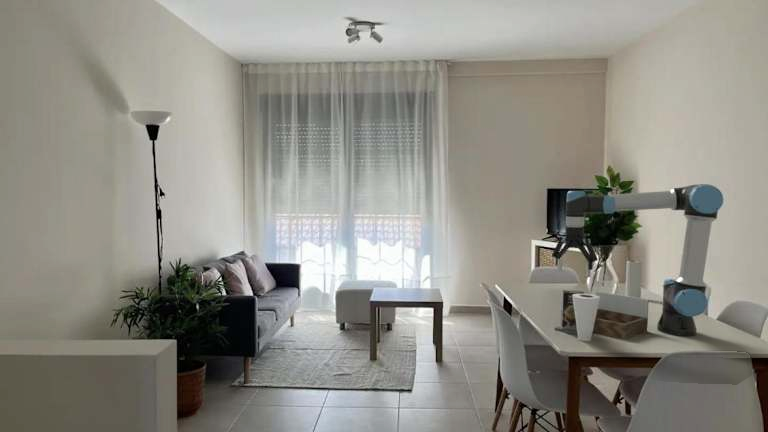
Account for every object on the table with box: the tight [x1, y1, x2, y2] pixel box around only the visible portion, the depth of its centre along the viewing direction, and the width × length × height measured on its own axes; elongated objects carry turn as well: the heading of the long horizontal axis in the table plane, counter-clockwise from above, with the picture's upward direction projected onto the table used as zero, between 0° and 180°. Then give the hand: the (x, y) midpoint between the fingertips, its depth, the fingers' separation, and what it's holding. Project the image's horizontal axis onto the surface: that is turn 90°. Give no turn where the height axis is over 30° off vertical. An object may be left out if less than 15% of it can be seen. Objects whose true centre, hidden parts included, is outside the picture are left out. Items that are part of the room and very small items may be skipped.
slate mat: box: [554, 325, 578, 336], centre depth 234 cm, size 10×10×1 cm
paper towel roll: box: [624, 260, 643, 298], centre depth 310 cm, size 7×6×21 cm
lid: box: [595, 290, 649, 319], centre depth 244 cm, size 24×1×8 cm, turn 40°
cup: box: [572, 293, 600, 342], centre depth 219 cm, size 11×11×18 cm
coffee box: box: [560, 289, 586, 330], centre depth 233 cm, size 9×6×16 cm
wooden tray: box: [592, 309, 649, 340], centre depth 237 cm, size 24×21×6 cm
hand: (573, 275), depth 233 cm, fingers open, 13 cm apart
